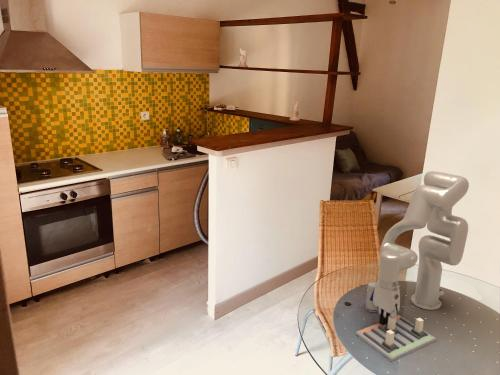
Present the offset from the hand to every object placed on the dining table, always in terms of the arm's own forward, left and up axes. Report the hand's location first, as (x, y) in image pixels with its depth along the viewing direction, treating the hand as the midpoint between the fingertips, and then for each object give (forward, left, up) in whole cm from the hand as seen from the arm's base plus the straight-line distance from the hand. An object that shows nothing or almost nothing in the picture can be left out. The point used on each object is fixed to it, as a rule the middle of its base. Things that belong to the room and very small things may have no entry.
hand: (383, 323), depth 162 cm
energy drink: (-7, -13, -3) cm, 15 cm away
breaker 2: (+8, +10, -1) cm, 13 cm away
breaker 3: (-8, +10, -1) cm, 13 cm away
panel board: (0, +6, -3) cm, 7 cm away
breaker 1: (0, +4, -1) cm, 4 cm away
